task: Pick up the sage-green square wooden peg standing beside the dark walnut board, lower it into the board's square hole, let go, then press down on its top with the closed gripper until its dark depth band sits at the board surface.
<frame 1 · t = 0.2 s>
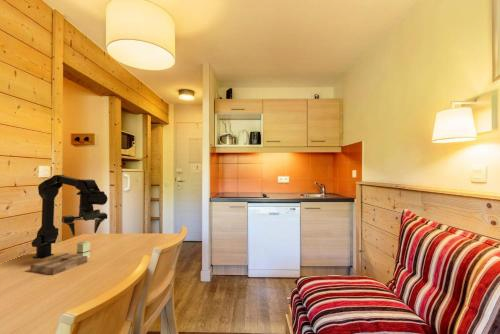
hand: (84, 234, 122), 13 cm above the table, tool pointing down, fingers open, 9 cm apart
peg: (83, 257, 126), on the table
board: (60, 266, 113), on the table
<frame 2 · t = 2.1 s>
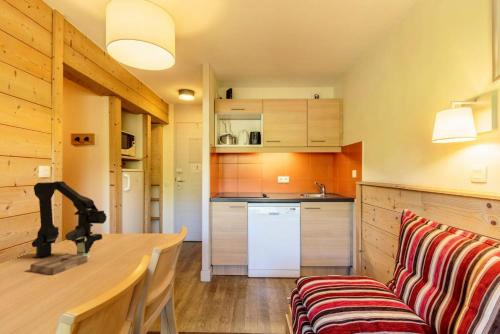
hand: (83, 252, 126), 3 cm above the table, tool pointing down, fingers closed on peg, 4 cm apart
peg: (83, 257, 126), on the table, touching gripper
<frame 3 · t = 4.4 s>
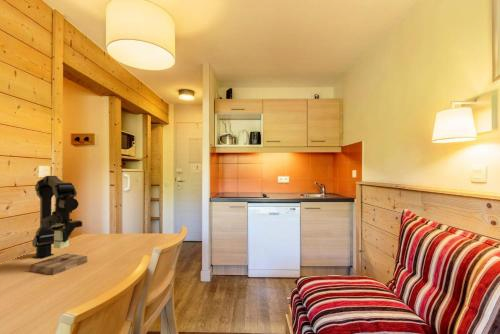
hand: (61, 241, 114), 12 cm above the table, tool pointing down, fingers closed on peg, 4 cm apart
peg: (61, 246, 114), point 9 cm above the table, touching gripper
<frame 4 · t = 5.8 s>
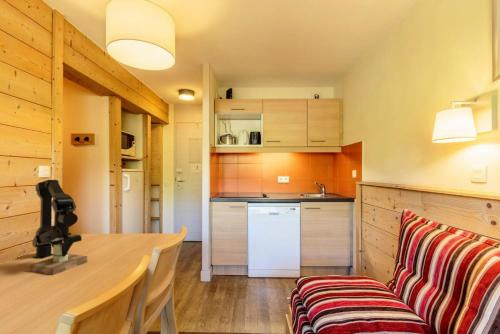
hand: (60, 255, 114), 5 cm above the table, tool pointing down, fingers closed on peg, 4 cm apart
peg: (60, 261, 114), point 2 cm above the table, touching gripper
when the fingers open (4 cm above the table, at t = 6.7 s): peg drops 2 cm, resting in board.
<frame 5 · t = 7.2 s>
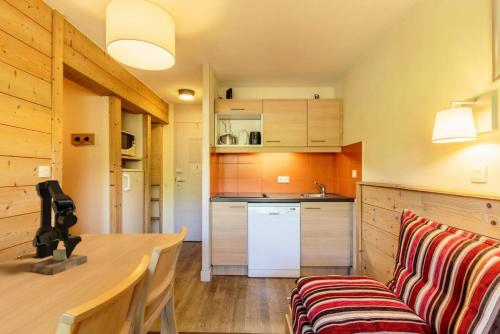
hand: (60, 256, 114), 4 cm above the table, tool pointing down, fingers open, 9 cm apart
peg: (60, 266, 113), resting in board
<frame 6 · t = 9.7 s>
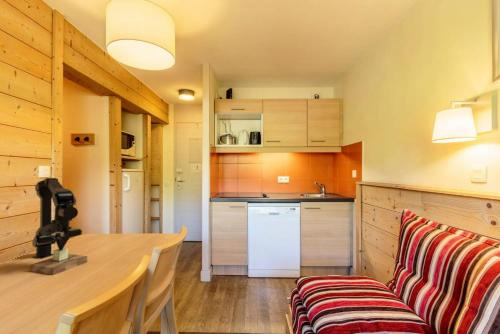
hand: (60, 249, 114), 8 cm above the table, tool pointing down, fingers closed, pressing on peg
peg: (60, 266, 113), resting in board, touching gripper
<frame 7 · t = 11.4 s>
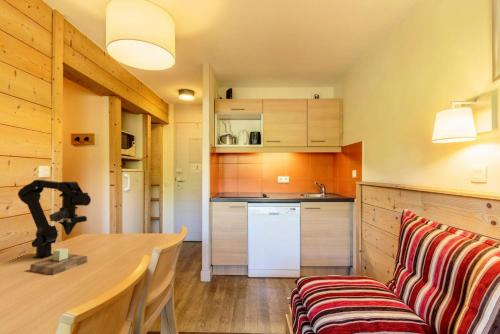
hand: (67, 234, 126), 12 cm above the table, tool pointing down, fingers closed
peg: (60, 266, 113), resting in board
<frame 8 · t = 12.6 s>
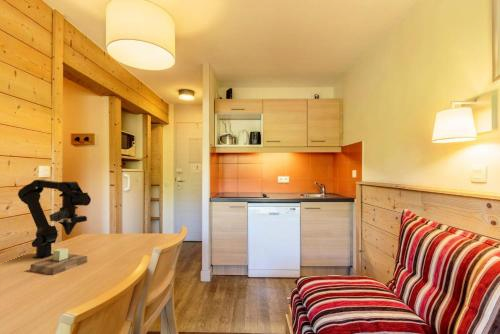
hand: (67, 234, 126), 12 cm above the table, tool pointing down, fingers closed
nothing on the table moved.
at the end: peg 0.0 cm off-centre on the board, point 0.0 cm above the board's base; peg tilted 0°; the gripper is holding nothing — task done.
